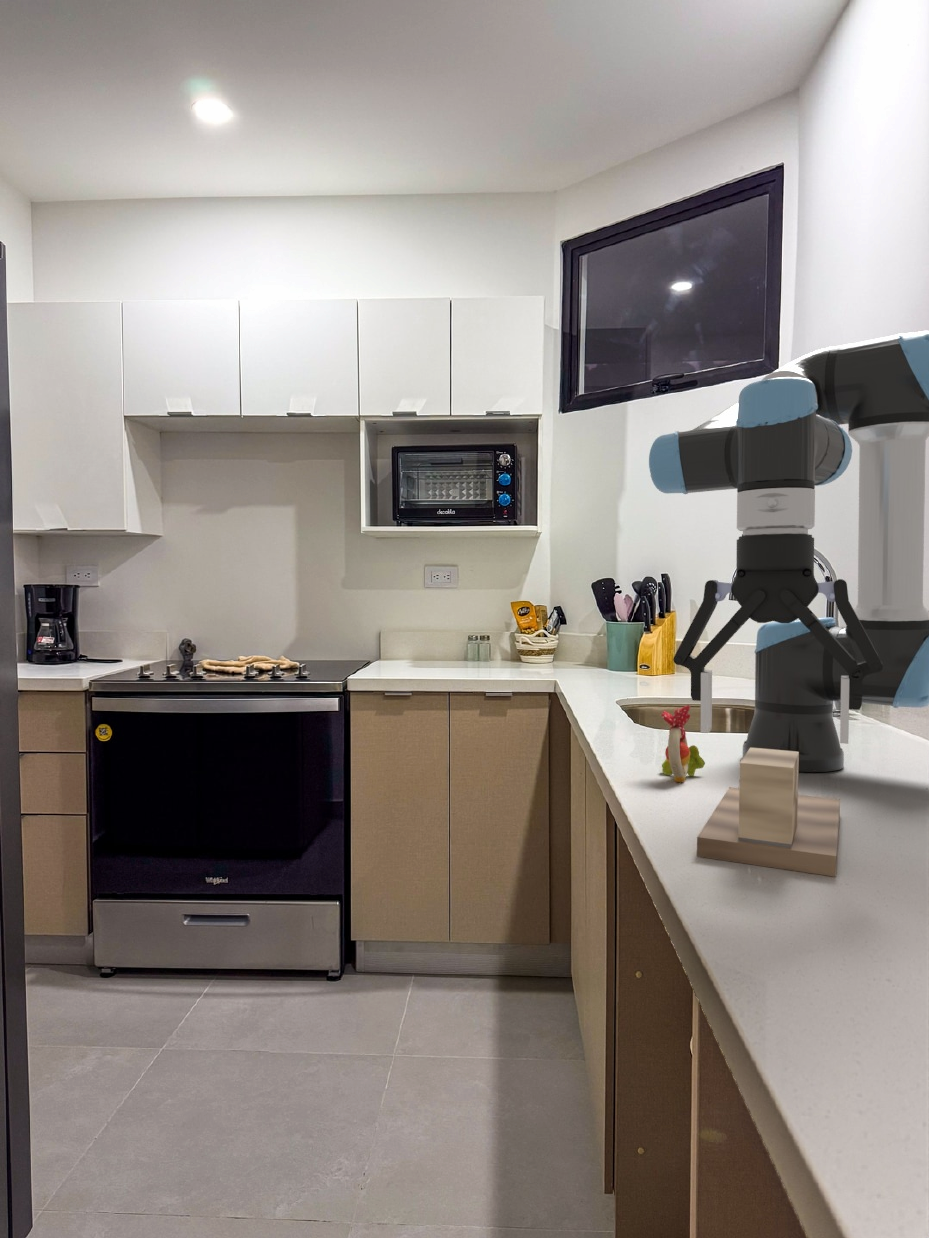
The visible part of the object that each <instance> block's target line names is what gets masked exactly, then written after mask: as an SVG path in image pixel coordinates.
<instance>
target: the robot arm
mask: <svg viewBox="0 0 929 1238" xmlns="http://www.w3.org/2000/svg"><path fill="white" fill-rule="evenodd" d="M840 425H841V426H842V425H848V426H847V427H848V433H847V432H846V431H845V429H844V428H843V427H841V426H840ZM928 437H929V330H923V331H918V332H917V331H915V332H907V333H903V332H900V333H898V334H893V335H889V336H883V337H878V338H873V339H867V340H863V341H858V342H853V343H852V342H851V343H847V344H843V345H835V346H829V347H826V348H821V349H817V350H815V351H813V352H809V353H807V354H805V355H802V356H801V357H798V358H797V359H794V360H792V361H790V362H788V363H785V364H784V365H782V366H781V367H779V368H777V369H776V370H774V371H772V372H770V373H769V374H767V375H765V376H764V377H763V378H762V379H761V380H756V381H754V382H752V383H749V384H747V385H745V386H744V387H743V388H742V390H740V393H739V395H738V401H737V402H735V403H733V404H732V405H731V406H729V407H727V408H726V409H724V410H723V411H721V412H719V413H718V414H716V415H714V416H713V417H711V418H710V419H708V420H706V421H705V422H704V423H702V424H700V425H698V426H697V427H695V428H693V429H690V430H685V431H679V430H677V431H676V430H675V431H674V432H672V433H667V434H662V435H660V436H658V437H657V438H656V439H655V440H654V441H653V443H652V444H651V447H650V450H649V454H648V455H649V456H648V469H649V473H650V477H651V481H652V484H653V485H654V486H655V488H656V489H657V490H658V491H660V492H661V493H663V494H683V495H688V494H691V493H693V494H694V493H703V492H705V493H706V492H714V491H715V492H716V491H726V490H736V492H737V494H736V529H737V531H739V532H742V534H741V536H738V539H736V567H735V568H736V575H735V578H734V581H733V582H723V581H722V582H721V581H718V580H716V579H710V580H707V581H706V582H705V585H704V590H703V591H704V592H703V600H702V602H701V604H700V606H699V608H698V610H697V611H696V614H695V616H694V618H693V620H692V621H691V622H690V625H689V626H688V629H687V631H686V633H685V634H684V637H683V639H682V641H681V643H680V644H679V646H678V648H677V650H676V652H675V654H674V656H673V658H672V659H673V660H672V661H673V663H674V664H675V665H676V666H681V667H683V668H686V669H688V670H689V672H690V697H691V700H692V701H698V702H700V734H708V733H710V732H711V730H712V729H713V724H712V723H713V722H712V721H713V720H712V719H713V670H712V669H705V667H706V666H707V664H708V663H710V662H711V660H712V659H714V657H715V656H716V655H717V654H718V653H719V652H720V650H722V649H723V647H724V646H725V645H726V644H727V643H728V642H729V641H730V640H731V639H732V638H733V637H734V635H735V634H736V633H737V632H738V631H739V630H740V629H741V628H742V626H744V625H745V623H746V622H747V621H748V620H749V619H750V620H752V621H753V622H756V623H757V624H762V625H761V626H760V627H759V628H758V630H757V635H756V642H755V643H756V644H755V650H754V654H755V663H754V665H755V667H754V668H755V672H754V676H755V677H754V681H755V682H754V713H753V717H752V720H751V722H750V725H749V726H750V727H749V730H748V733H747V736H746V737H747V738H746V739H745V740H744V742H743V744H742V757H741V759H743V758H744V756H745V755H746V753H747V752H748V750H749V749H750V747H751V748H763V749H774V750H785V751H797V752H799V768H798V772H803V773H805V772H806V773H821V772H822V773H823V772H825V773H826V772H827V773H828V772H834V771H838V770H841V769H844V765H845V764H844V763H845V753H844V750H843V748H842V747H841V744H846V745H848V744H849V733H850V732H849V729H850V728H849V725H850V724H849V723H850V710H852V711H853V710H854V711H856V710H857V711H860V710H861V709H862V705H863V704H864V705H865V704H866V705H876V706H878V705H879V706H887V707H893V709H899V708H918V709H921V708H925V707H927V706H929V610H928V609H927V608H926V607H925V605H924V598H923V597H924V553H925V551H924V549H925V546H924V544H925V505H926V504H925V503H926V500H925V498H926V497H925V495H926V494H925V493H926V440H927V439H928ZM851 439H853V441H855V442H856V443H857V445H859V450H858V451H859V452H858V453H859V454H858V455H859V457H858V458H859V459H858V462H859V464H858V539H857V540H858V547H857V548H858V549H857V552H858V553H857V557H858V559H857V562H858V563H857V604H856V606H855V607H853V606H852V604H851V602H850V600H849V591H848V583H847V581H846V580H845V579H842V578H839V579H836V580H835V581H824V582H817V580H816V578H815V573H814V572H815V571H814V570H815V569H814V568H815V537H813V534H809V530H811V529H813V528H814V527H815V522H816V521H815V519H816V518H815V515H816V514H815V513H816V511H815V510H816V508H815V507H816V486H817V487H818V486H824V485H827V484H830V483H832V482H834V481H836V480H837V479H838V478H840V476H842V475H843V473H844V472H845V471H846V470H847V468H848V467H849V465H850V462H851V460H852V454H853V447H852V446H853V445H852V442H851V441H852V440H851ZM728 594H731V595H732V596H733V597H734V599H735V600H736V602H737V603H738V604H739V605H740V608H739V609H738V610H737V611H736V612H735V613H734V614H733V615H732V617H731V618H730V619H729V621H728V622H727V623H726V624H725V625H723V627H722V628H720V630H719V632H717V634H716V635H715V636H714V637H713V638H712V639H711V640H710V641H709V643H707V644H706V645H705V646H704V648H703V649H702V650H701V652H700V653H698V655H697V656H693V655H692V653H693V651H694V649H695V648H696V646H697V643H698V642H699V640H700V638H701V636H702V634H703V632H704V631H705V629H706V627H707V625H708V623H709V621H710V619H711V618H712V615H713V614H714V612H715V609H716V607H717V605H718V602H723V601H724V600H725V598H726V596H727V595H728ZM818 594H823V595H824V596H825V598H826V600H827V601H829V602H830V603H831V602H832V603H835V605H836V608H837V610H838V612H839V614H840V616H841V618H842V619H843V622H844V624H845V626H837V622H836V619H835V618H834V617H829V616H828V617H817V616H816V615H815V613H814V612H813V611H812V610H811V609H810V607H809V605H811V603H812V602H813V601H814V600H815V598H816V597H817V596H818ZM834 702H840V717H839V718H840V720H839V722H840V723H839V724H840V725H839V727H840V729H839V730H840V731H839V733H840V734H839V735H838V732H837V728H836V725H835V722H834V716H833V714H834V712H833V710H834V705H833V704H834Z"/></svg>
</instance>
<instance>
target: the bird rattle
mask: <svg viewBox="0 0 929 1238" xmlns="http://www.w3.org/2000/svg"><path fill="white" fill-rule="evenodd" d="M690 710H691V705H689V704H687V705H684V706H683V707H681V708H677V709H675V710H674V713H673V715H672V714H671V713H669V712H667V711H665V710H664V711H663V712H662V713H661V715H660V716H661V718H662V719H663V720H664V721H665V722H666V723H667V724H669V726H671V727H670V728H669V731H668V732H669V733H668V741H667V747H666V748H665V759H664V761H663V762H662V764H661V769H662V772H663V774H664V775H665V776H671V775H673V780H674V782H676V783H684V782H685V780H686V777H687V775H688V776H689V777H694V776H695V772H696V771H697V769H703V768H704V767H705V765H706V762H705V760H704V758H703V757H701V755H700V751H699V748H698V747H697V746H696V745H693V744H692V745H690V746H688V740H687V733H686V729H685V727H684V726H685V725H686V724H687V723H688V721H689V719H690V717H691V714H690V713H689V712H690Z"/></svg>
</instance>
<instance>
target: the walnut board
mask: <svg viewBox="0 0 929 1238" xmlns="http://www.w3.org/2000/svg"><path fill="white" fill-rule="evenodd" d="M840 808H841V798H833V797H826V796H825V797H824V796H815V795H806V794H798V813H797V828H796V832H795V836H794V840H793V844H792V848H785V847H778V846H770V845H763V844H756V843H748V842H741V841H738V835H739V787H732V786H729V787H728V789H727V790H726V791H725V793H724V795H723V797H722V798H721V799H720V801H719V803H718V804H717V806H716V807H715V809H714V810H713V812H712V813H711V815H710V817H709V818H708V820H707V821H706V822H705V824H704V826H703V828H702V829H701V830H700V832H699V833H698V835H697V837H696V857H699V858H708V859H713V860H720V861H726V862H733V863H741V864H747V865H754V866H761V867H768V868H774V869H780V870H786V871H787V870H788V871H795V872H802V873H806V874H807V873H808V874H814V875H822V876H829V877H835V878H836V877H837V864H838V862H837V860H838V845H839V832H840V830H839V829H840V812H841V811H840V810H841V809H840Z"/></svg>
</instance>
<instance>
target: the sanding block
mask: <svg viewBox="0 0 929 1238" xmlns="http://www.w3.org/2000/svg"><path fill="white" fill-rule="evenodd" d="M798 768H799V752H797V751H785V750H774V749H763V748H751V747H750V749H749V750H748V752H747V753H746V755H745V756H744V758H741V761H740V762H739V783H738V784H739V786H738V788H739V835H738V841H741V842H748V843H756V844H763V845H770V846H778V847H785V848H792V844H793V840H794V836H795V832H796V828H797V813H798V795H799V771H798Z"/></svg>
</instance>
